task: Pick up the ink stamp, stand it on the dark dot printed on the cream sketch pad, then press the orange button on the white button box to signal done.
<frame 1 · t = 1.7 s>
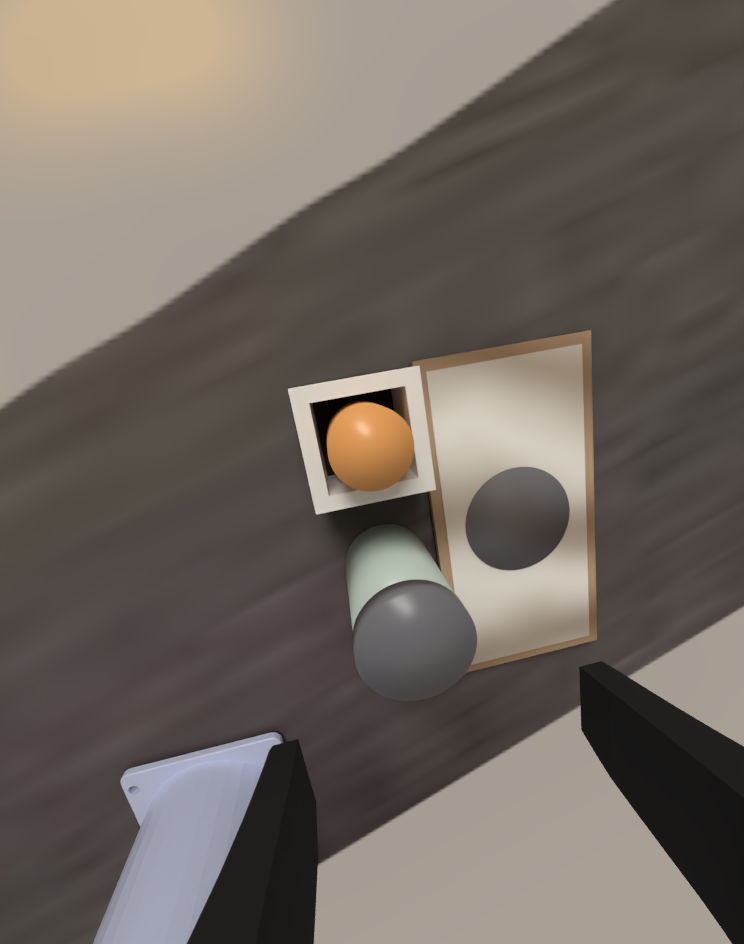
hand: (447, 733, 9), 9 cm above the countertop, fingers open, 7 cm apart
done button: (366, 442, 13), point 3 cm above the countertop, slide at 0.0 cm
ink stamp: (386, 562, 18), on the countertop
sketch pad: (512, 516, 18), on the countertop
button box: (358, 431, 16), on the countertop
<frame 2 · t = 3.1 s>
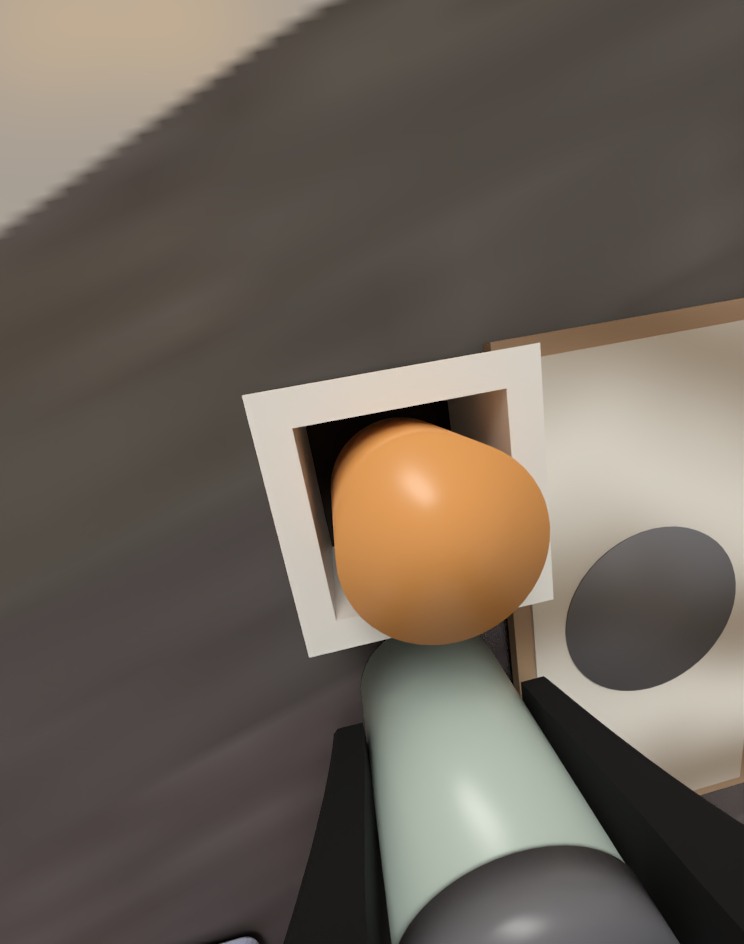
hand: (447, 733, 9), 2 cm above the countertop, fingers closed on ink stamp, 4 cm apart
done button: (417, 510, 6), point 3 cm above the countertop, slide at 0.0 cm
ink stamp: (429, 681, 11), on the countertop, touching gripper
sketch pad: (636, 602, 11), on the countertop
button box: (387, 469, 9), on the countertop
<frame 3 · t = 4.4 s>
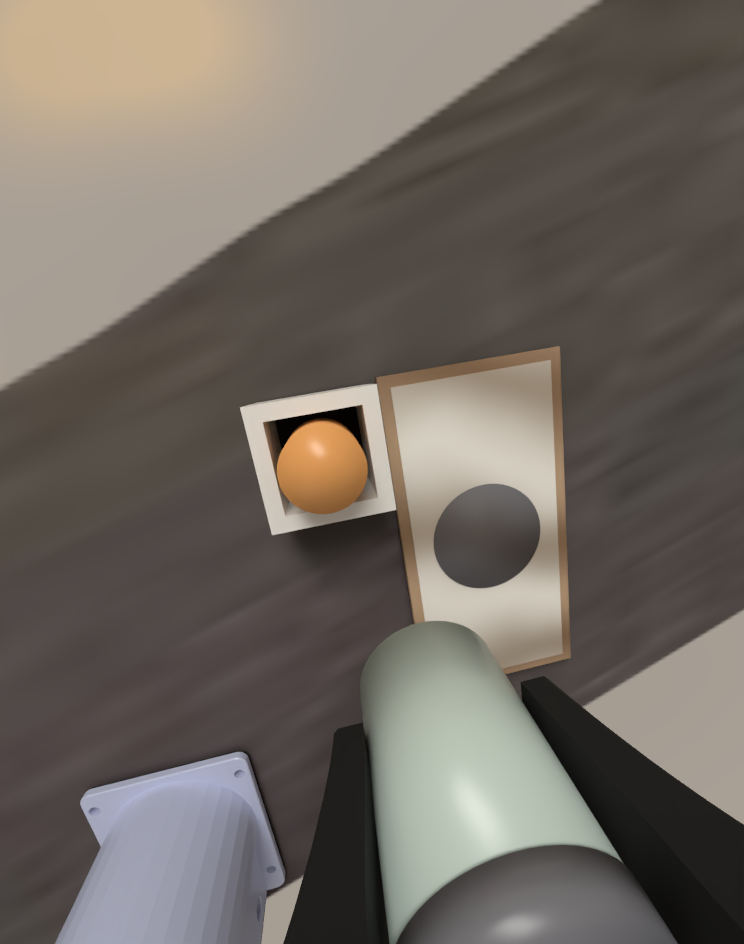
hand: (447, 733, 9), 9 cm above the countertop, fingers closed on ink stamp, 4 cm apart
done button: (322, 461, 13), point 3 cm above the countertop, slide at 0.0 cm
ink stamp: (428, 681, 11), point 7 cm above the countertop, touching gripper
sketch pad: (483, 533, 18), on the countertop
button box: (322, 447, 16), on the countertop
when the fingers open (3 cm above the countertop, at t = 6.1 s): ink stamp stays where it is, resting on sketch pad.
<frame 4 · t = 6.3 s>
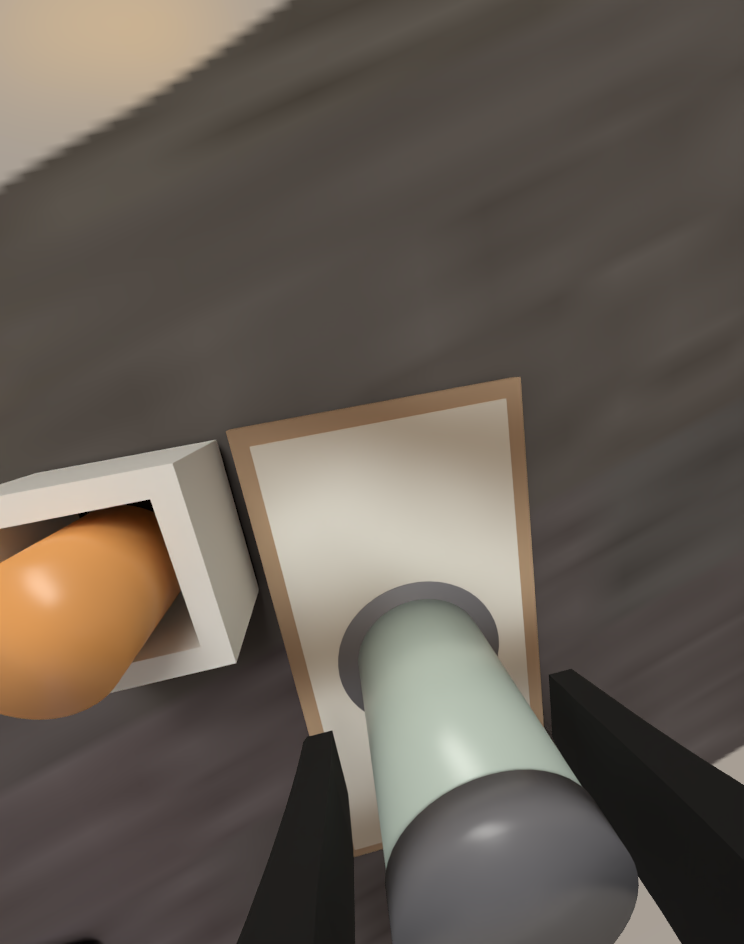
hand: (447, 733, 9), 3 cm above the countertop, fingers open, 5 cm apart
done button: (90, 595, 7), point 3 cm above the countertop, slide at 0.0 cm
ink stamp: (421, 655, 12), point 1 cm above the countertop, touching sketch pad
sketch pad: (416, 644, 12), on the countertop
button box: (155, 535, 10), on the countertop
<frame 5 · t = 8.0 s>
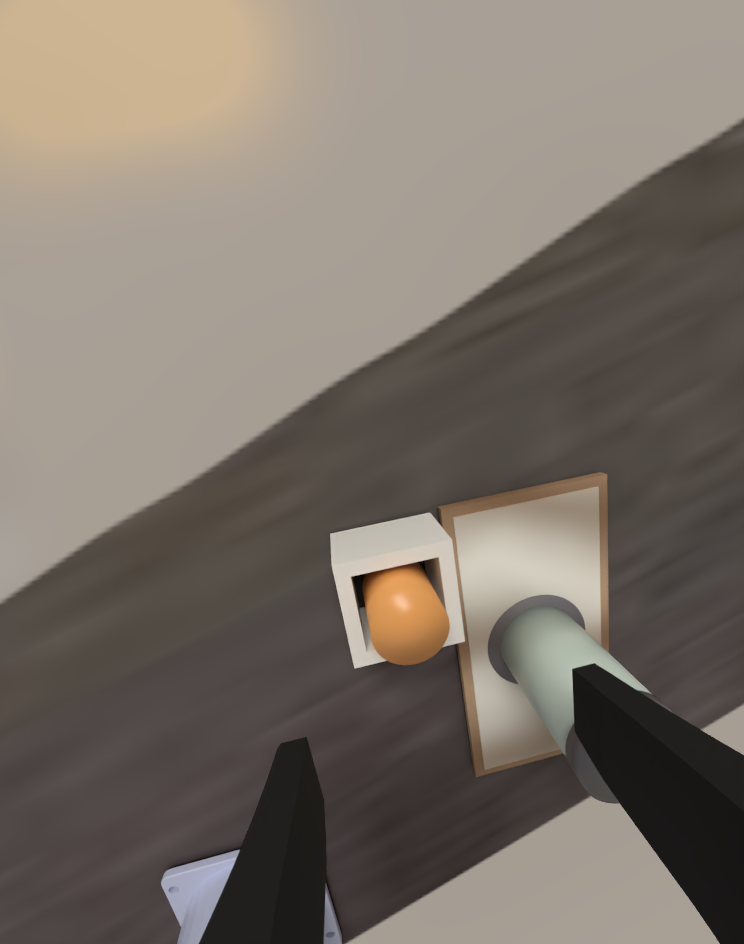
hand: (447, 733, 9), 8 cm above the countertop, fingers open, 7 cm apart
done button: (401, 605, 14), point 3 cm above the countertop, slide at 0.0 cm
ink stamp: (538, 640, 19), point 1 cm above the countertop, touching sketch pad
sketch pad: (531, 634, 19), on the countertop
button box: (388, 568, 17), on the countertop
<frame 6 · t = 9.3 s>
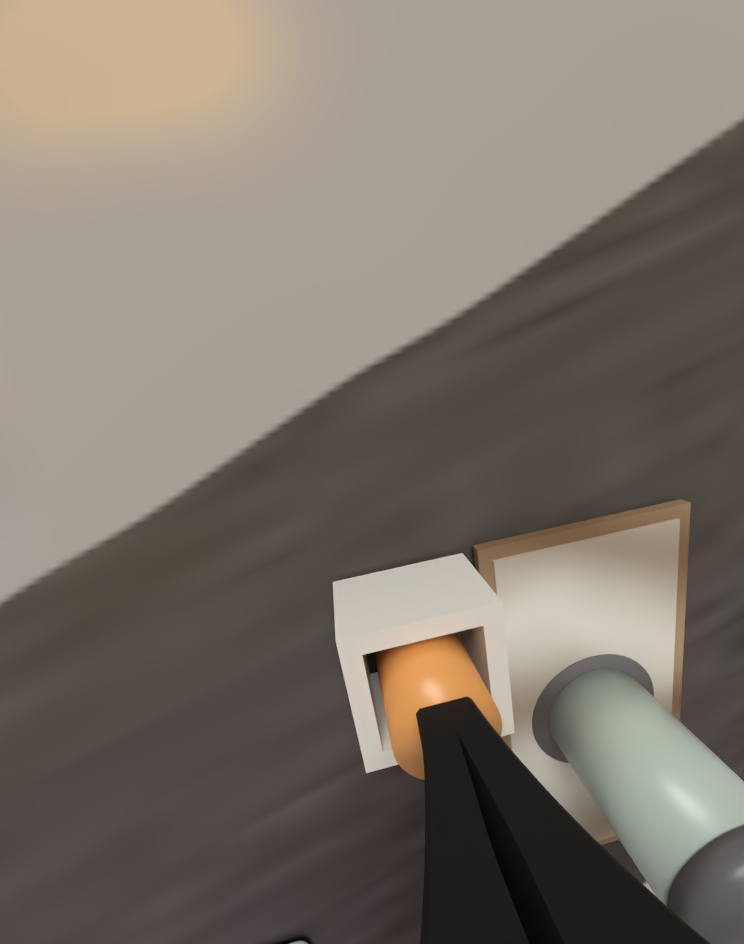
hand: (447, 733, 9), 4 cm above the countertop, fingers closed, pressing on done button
done button: (430, 687, 11), point 3 cm above the countertop, slide at 0.1 cm, touching gripper
ink stamp: (595, 710, 15), point 1 cm above the countertop, touching sketch pad
sketch pad: (584, 699, 15), on the countertop
button box: (408, 623, 13), on the countertop
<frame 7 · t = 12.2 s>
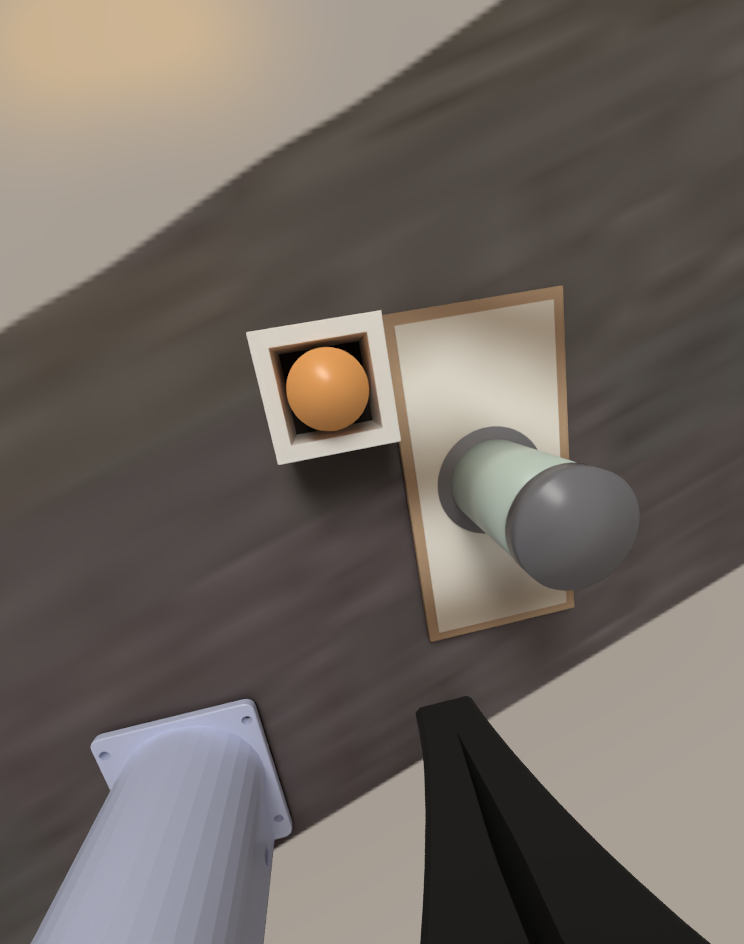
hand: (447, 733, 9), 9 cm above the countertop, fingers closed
done button: (327, 389, 14), point 2 cm above the countertop, slide at 1.0 cm
ink stamp: (492, 481, 17), point 1 cm above the countertop, touching sketch pad
sketch pad: (486, 478, 18), on the countertop
button box: (327, 388, 16), on the countertop
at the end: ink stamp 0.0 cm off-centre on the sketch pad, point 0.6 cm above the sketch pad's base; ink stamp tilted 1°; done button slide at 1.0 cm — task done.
